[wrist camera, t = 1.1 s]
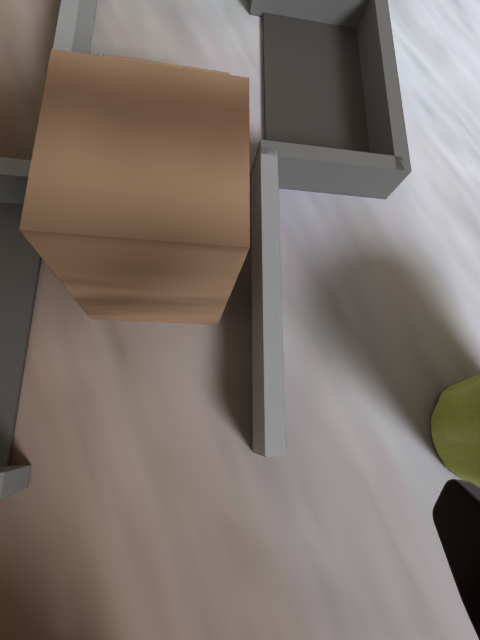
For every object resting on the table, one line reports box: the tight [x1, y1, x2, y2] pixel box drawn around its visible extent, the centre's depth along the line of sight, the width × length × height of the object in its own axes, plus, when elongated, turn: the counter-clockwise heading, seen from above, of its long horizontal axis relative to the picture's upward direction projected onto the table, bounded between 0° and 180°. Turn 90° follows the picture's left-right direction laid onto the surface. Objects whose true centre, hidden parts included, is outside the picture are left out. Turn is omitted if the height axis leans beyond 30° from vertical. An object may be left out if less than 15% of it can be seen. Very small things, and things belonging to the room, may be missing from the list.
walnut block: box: [19, 49, 250, 325], centre depth 18 cm, size 14×7×10 cm, turn 179°
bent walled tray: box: [0, 0, 411, 499], centre depth 22 cm, size 36×30×3 cm
